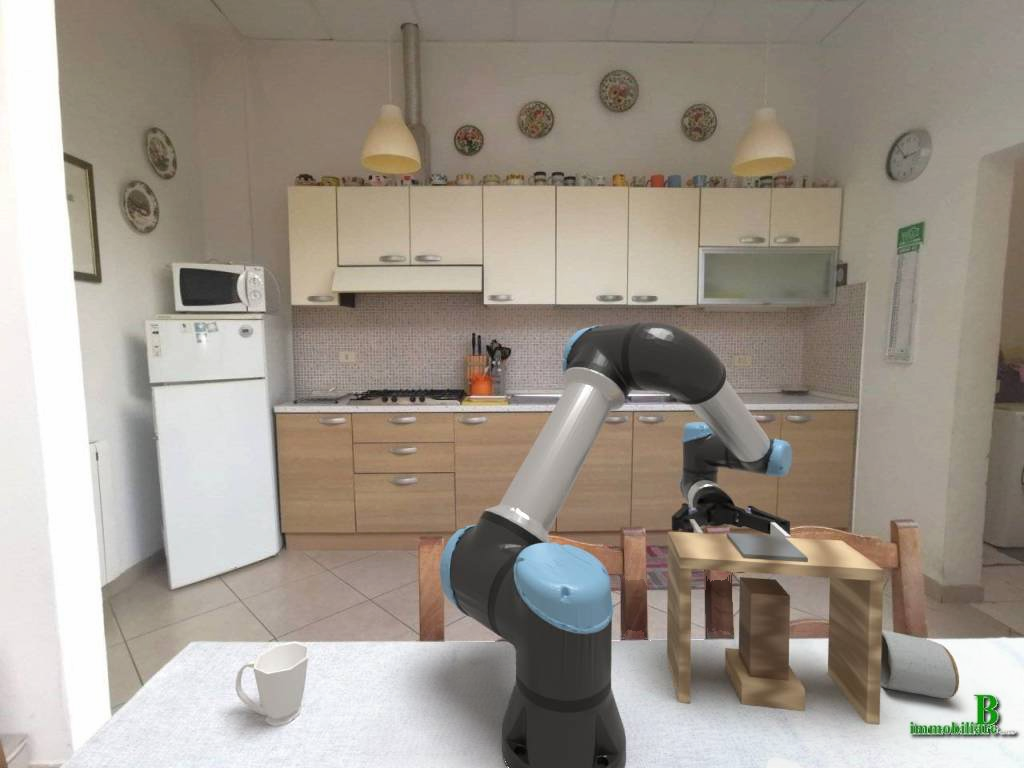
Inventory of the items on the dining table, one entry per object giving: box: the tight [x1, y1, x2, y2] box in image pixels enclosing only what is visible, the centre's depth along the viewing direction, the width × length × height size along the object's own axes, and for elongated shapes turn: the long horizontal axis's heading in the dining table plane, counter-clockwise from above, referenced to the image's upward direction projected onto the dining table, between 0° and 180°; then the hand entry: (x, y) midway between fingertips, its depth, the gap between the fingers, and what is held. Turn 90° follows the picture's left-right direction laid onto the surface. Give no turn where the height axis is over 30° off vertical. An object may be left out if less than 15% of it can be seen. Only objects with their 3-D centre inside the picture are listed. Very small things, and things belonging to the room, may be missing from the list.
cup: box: [234, 640, 311, 728], centre depth 62 cm, size 7×10×8 cm
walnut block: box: [738, 576, 791, 681], centre depth 67 cm, size 5×5×12 cm
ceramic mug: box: [880, 629, 960, 699], centre depth 68 cm, size 11×8×8 cm
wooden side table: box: [666, 531, 885, 725], centre depth 67 cm, size 25×10×21 cm, turn 80°
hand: (743, 542), depth 76 cm, fingers open, 13 cm apart
